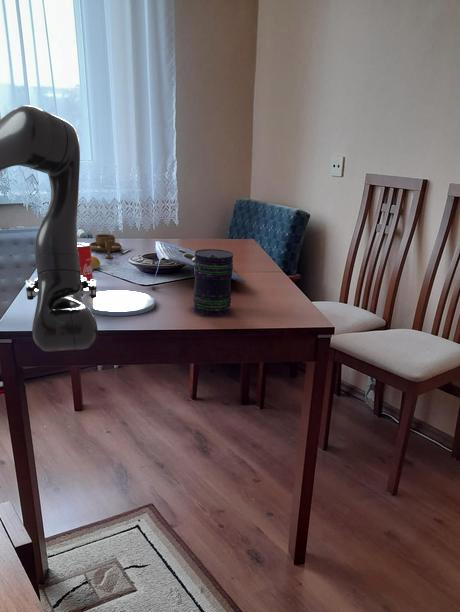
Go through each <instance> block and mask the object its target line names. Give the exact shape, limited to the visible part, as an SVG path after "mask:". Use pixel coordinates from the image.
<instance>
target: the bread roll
mask: <svg viewBox="0 0 460 612" xmlns="http://www.w3.org/2000/svg"><path fill="white" fill-rule="evenodd" d="M91 261H92V270H94V269H99V268H100V267H101V261H100V259H99V258H98V257H97V256H95V255H93V254H91Z"/></svg>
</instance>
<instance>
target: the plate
mask: <svg viewBox="0 0 460 612" xmlns="http://www.w3.org/2000/svg"><path fill="white" fill-rule="evenodd" d="M96 293H97V298H91V296H89V295H88V294H86V295H85V296H83V297H82V299H83V305H85V306H86V307H87V308H88V309H89V310H90V311H91V312H92V314H95V315H100V316H110V317H125V316H126V317H128V316H137V315H141V314H144V313H147V312H150V311H152V310H153V309H154V308H155V306H156V300H155V298H154V297H153V296H151V295H149V294H146V293H143V292H138V291H131V290H105V291H104V290H103V291H96Z"/></svg>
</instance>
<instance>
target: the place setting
mask: <svg viewBox="0 0 460 612" xmlns="http://www.w3.org/2000/svg"><path fill="white" fill-rule="evenodd" d="M88 244H89V245H90V248H91V251H92V250H93V251H94V252H98V253H99V252H100V253H107V256H105V257H104V259H106V260H107V259H108V260H112V259H114V256H111V253H114V252H118V251H119V252H118V253H119V254H125V253H126V252H129V251H131V250H132V249H131V248H129V249H127V250H124V251H122V252H121V251H120V250H121V249H122V248H123V244H122V243H120V242H116V236H115V235H113V234H107V233H101V234H96V235H95V241H93V242H90V243H88Z"/></svg>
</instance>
